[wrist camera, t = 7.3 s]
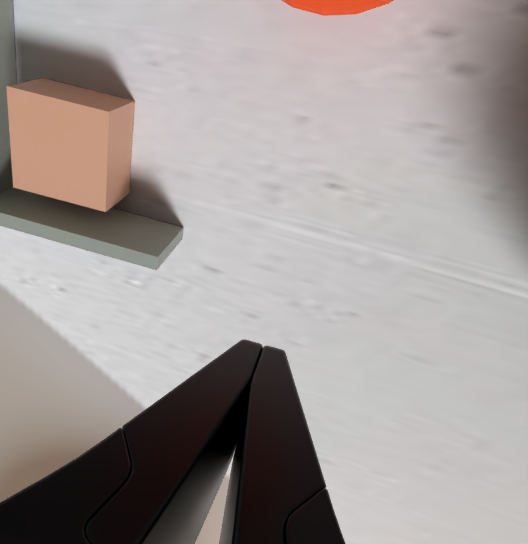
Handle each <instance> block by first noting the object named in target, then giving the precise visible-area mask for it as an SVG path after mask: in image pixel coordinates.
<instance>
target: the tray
mask: <svg viewBox="0 0 528 544" xmlns="http://www.w3.org/2000/svg"><path fill="white" fill-rule="evenodd" d="M13 84H17V78H16V56H15V34H14V13H13V0H0V226H3V227H7V228H10V229H14V230H18V231H21V232H25V233H28V234H32V235H35V236H39V237H42V238H46V239H49V240H53V241H56V242H60V243H63V244H67V245H70V246H74V247H77V248H81V249H84V250H88V251H91V252H95V253H98V254H102V255H105V256H109V257H112V258H116V259H119V260H123V261H127V262H130V263H134V264H137V265H141V266H144V267H148V268H151V269H155V270H157V269H158V268H159V267H160V265H161V264H162V263H163V262H164V261H165V259H166V258H167V257H168V256H169V254H170V253H171V252H172V251H173V250H174V248H175V247H176V246H177V245H178V244H179V242H180V241H181V240H182V235H183V227H179V226H175V225H172V224H168V223H165V222H161V221H157V220H154V219H150V218H147V217H143V216H139V215H136V214H132V213H128V212H125V211H121V210H118V209H114V208H110V209H109V210H108V211H106V212H104V211H100V210H96V209H92V208H89V207H85V206H81V205H77V204H74V203H70V202H66V201H62V200H59V199H55V198H51V197H47V196H44V195H40V194H36V193H32V192H29V191H25V190H21V189H17V188H14V187H13V177H12V162H11V147H10V133H9V118H8V103H7V88H6V86H9V85H13Z"/></svg>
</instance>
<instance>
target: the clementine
mask: <svg viewBox="0 0 528 544" xmlns="http://www.w3.org/2000/svg"><path fill="white" fill-rule="evenodd" d="M282 1H284V2H285V3H287V4H288V5H290V6H292V7H293V8H297V9H301V10H305V11H309V12H313V13H316V14H320V15H347V14H358V13H361V12H364V11H367V10H370V9H373V8H376V7H379V6H382V5H385V4H388V3H390V2H391V1H393V0H282Z"/></svg>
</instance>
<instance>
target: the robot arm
mask: <svg viewBox="0 0 528 544" xmlns="http://www.w3.org/2000/svg"><path fill="white" fill-rule="evenodd" d="M234 451H235V453H234ZM233 454H234V457H233ZM232 457H233V463H232V468H231V473H230V480H229V486H228V492H227V498H226V504H225V511H224V517H223V523H222V529H221V536H220V541H219V544H345V541H344V539H343V536H342V533H341V530H340V527H339V524H338V521H337V518H336V515H335V513H334V510H333V506H332V503H331V500H330V496H329V493H328V490H327V489H326V484H325V481H324V478H323V474H322V471H321V468H320V464H319V461H318V458H317V455H316V451H315V448H314V445H313V442H312V438H311V435H310V432H309V428H308V425H307V422H306V419H305V415H304V412H303V409H302V405H301V402H300V399H299V396H298V392H297V389H296V386H295V383H294V379H293V376H292V373H291V369H290V366H289V363H288V360H287V356H286V353H285V351H284V350H281V349H278V348H274V347H270V346H264V347H262V345H261V344H259V343H256V342H252V341H249V340H241V341H239V342H238V343H237V344H235V345H234V346H233V347H231V348H230V349H228V350H227V351H226V352H224V353H223V354H221V355H220V356H219V357H217V358H216V359H215V360H213V361H212V362H210V363H209V364H208V365H206V366H205V367H204V368H202V369H201V370H199V371H198V372H197V373H195V374H194V375H193V376H191V377H190V378H188V379H187V380H186V381H184V382H183V383H181V384H180V385H179V386H177V387H176V388H175V389H173V390H172V391H170V392H169V393H168V394H166V395H165V396H164V397H162V398H161V399H159V400H158V401H157V402H155V403H154V404H153V405H151V406H150V407H148V408H147V409H146V410H144V411H143V412H141V413H140V414H139V415H137V416H136V417H135V418H133V419H132V420H130V421H129V422H128V423H126V424H125V425H124V426H123V427H122V428H119V429H118V430H117V431H115V432H113V433H112V434H111V435H109V436H108V437H107V438H106V439H104V440H102V441H101V442H100V443H98V444H97V445H95V446H94V447H92V448H91V449H89V450H88V451H86V452H85V453H83V454H82V455H80V456H79V457H77V458H76V459H74V460H73V461H71V462H69V463H67V464H66V465H64V466H62V467H61V468H59V469H58V470H56V471H54V472H53V473H51V474H49V475H48V476H46V477H44V478H42V479H41V480H39V481H37V482H35V483H34V484H32V485H30V486H28V487H27V488H25V489H23V490H21V491H20V492H18V493H16V494H14V495H13V496H11V497H9V498H7V499H6V500H4V501H2V502H1V503H0V544H195V542H196V539H197V537H198V535H199V532H200V530H201V528H202V526H203V524H204V521H205V519H206V517H207V514H208V512H209V510H210V508H211V506H212V503H213V501H214V499H215V496H216V494H217V492H218V490H219V487H220V485H221V483H222V481H223V478H224V476H225V474H226V472H227V469H228V467H229V464H230V462H231V459H232Z"/></svg>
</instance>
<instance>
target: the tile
mask: <svg viewBox="0 0 528 544" xmlns="http://www.w3.org/2000/svg"><path fill="white" fill-rule="evenodd" d="M6 88H7V103H8V118H9V133H10V147H11V162H12V177H13V187H14V188H17V189H21V190H25V191H29V192H32V193H36V194H40V195H44V196H47V197H51V198H55V199H59V200H62V201H66V202H70V203H74V204H77V205H81V206H85V207H89V208H92V209H96V210H100V211H104V212H106V211H108V210H109V209H110V208H111V207H113V206H114V205H115V204H116V203H118V202H119V201H120V200H122V199H123V198H124V197H125V196H127V195H128V194H129V190H130V174H131V158H132V142H133V125H134V109H135V101H132V100H128V99H124V98H120V97H117V96H113V95H109V94H105V93H101V92H97V91H93V90H89V89H85V88H81V87H77V86H73V85H69V84H65V83H61V82H57V81H53V80H49V79H45V78H40V79H35V80H31V81H27V82H22V83H18V84H13V85H9V86H6Z"/></svg>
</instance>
